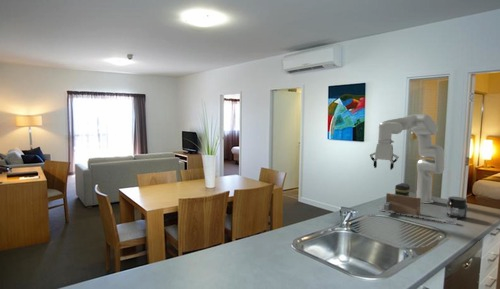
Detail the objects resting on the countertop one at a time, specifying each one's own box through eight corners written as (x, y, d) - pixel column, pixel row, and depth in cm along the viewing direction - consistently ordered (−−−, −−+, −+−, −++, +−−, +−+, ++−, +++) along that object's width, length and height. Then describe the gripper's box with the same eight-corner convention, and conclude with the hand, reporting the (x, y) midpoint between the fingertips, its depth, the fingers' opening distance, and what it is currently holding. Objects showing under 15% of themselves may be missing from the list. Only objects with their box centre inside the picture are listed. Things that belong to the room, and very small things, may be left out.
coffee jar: (404, 214, 198) (406, 185, 196) (392, 211, 203) (393, 183, 202) (410, 210, 204) (411, 183, 203) (397, 208, 210) (399, 181, 208)
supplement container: (460, 214, 197) (461, 196, 196) (470, 220, 187) (471, 200, 186) (442, 214, 198) (444, 195, 197) (452, 219, 188) (453, 200, 187)
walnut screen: (386, 209, 204) (387, 193, 203) (419, 215, 192) (420, 197, 191) (382, 212, 196) (383, 196, 195) (417, 219, 184) (418, 201, 183)
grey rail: (380, 209, 207) (380, 205, 206) (456, 223, 181) (456, 218, 180) (378, 210, 204) (379, 206, 204) (456, 224, 178) (456, 219, 178)
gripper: (400, 142, 193) (399, 169, 194) (372, 140, 203) (370, 166, 204) (398, 143, 187) (396, 170, 188) (368, 141, 197) (367, 167, 198)
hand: (383, 168), depth 196 cm, fingers open, 9 cm apart
